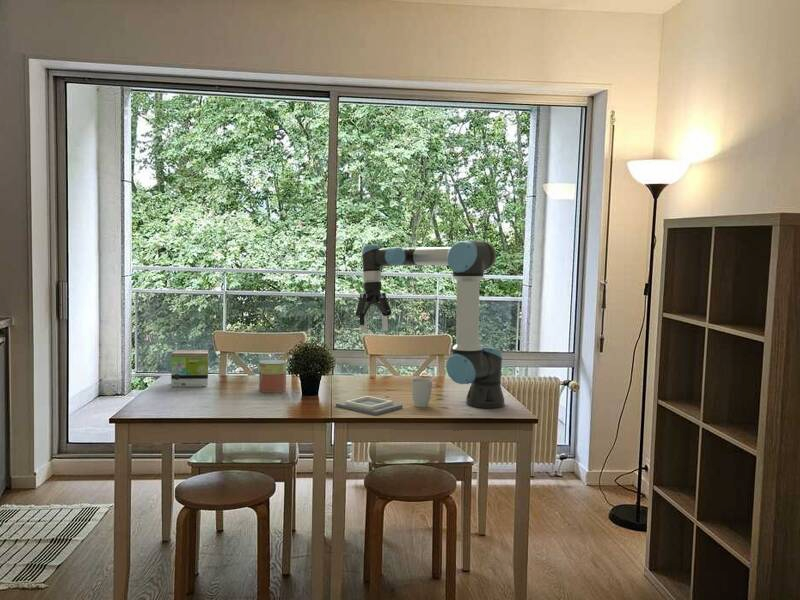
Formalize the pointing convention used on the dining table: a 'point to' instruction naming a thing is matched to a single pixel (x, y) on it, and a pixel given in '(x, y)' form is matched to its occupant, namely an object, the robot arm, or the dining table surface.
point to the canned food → (272, 375)
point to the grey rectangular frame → (370, 405)
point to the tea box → (189, 368)
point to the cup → (421, 391)
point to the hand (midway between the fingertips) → (374, 332)
